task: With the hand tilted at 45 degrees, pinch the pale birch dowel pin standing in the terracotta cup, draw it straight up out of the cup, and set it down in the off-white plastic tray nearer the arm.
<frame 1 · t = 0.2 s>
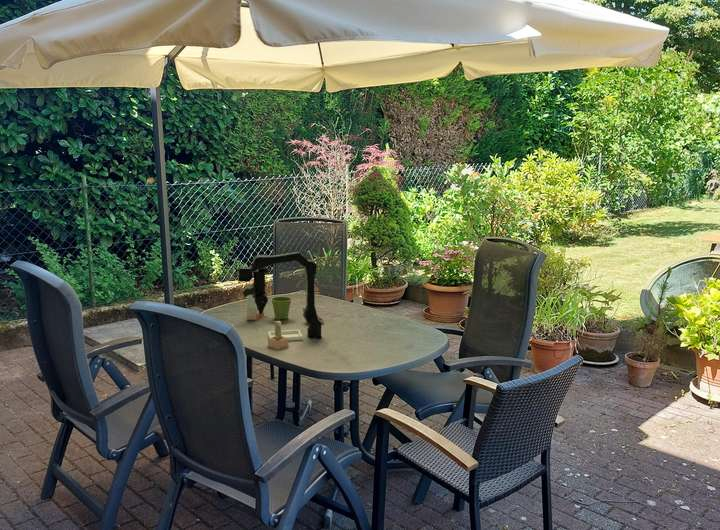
hand: (259, 312, 303), 15 cm above the table, tool pointing down, fingers open, 9 cm apart
plant pot: (281, 318, 349), on the table
dowel pin: (278, 334, 296), in the pin cup
tray: (285, 338, 311), on the table
ceramic mug: (314, 323, 339), on the table
cracker box: (256, 317, 350), on the table
pin cup: (278, 346, 297), on the table
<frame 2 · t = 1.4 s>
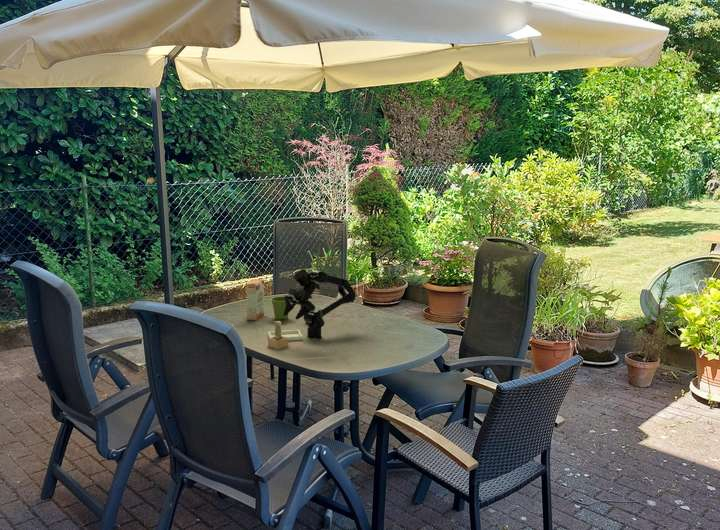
hand: (290, 317, 300), 13 cm above the table, tool tilted 45°, fingers open, 9 cm apart
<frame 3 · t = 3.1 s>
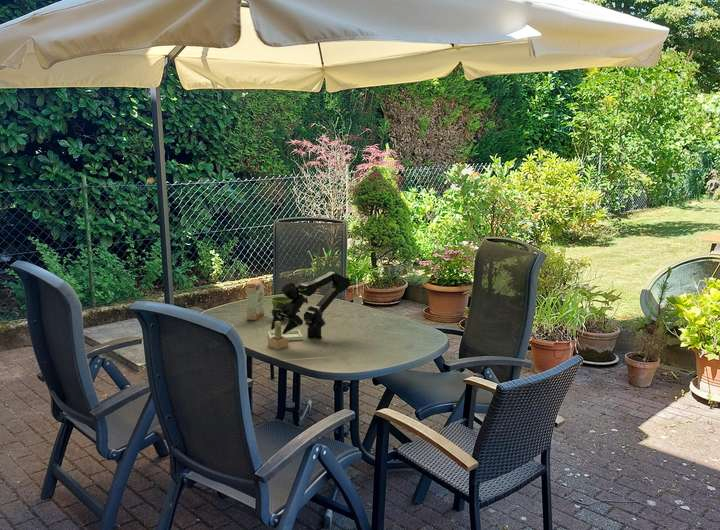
hand: (277, 331, 295), 8 cm above the table, tool tilted 45°, fingers open, 9 cm apart
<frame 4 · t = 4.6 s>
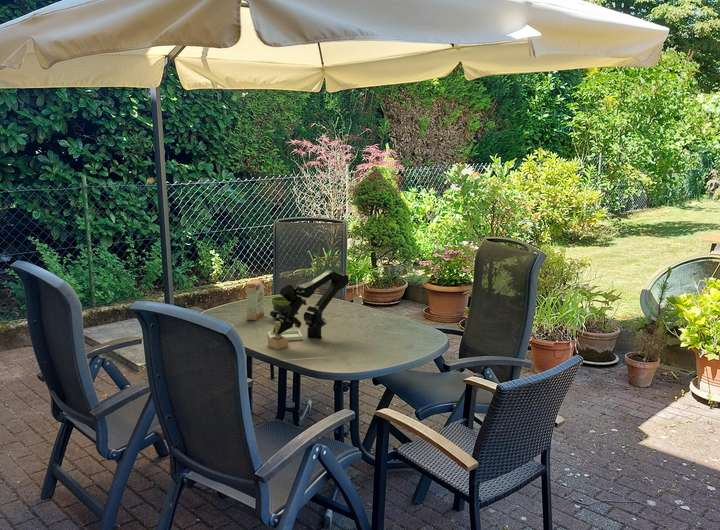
hand: (275, 333, 295), 7 cm above the table, tool tilted 45°, fingers closed on dowel pin, 3 cm apart
dowel pin: (278, 334, 296), in the pin cup, touching gripper
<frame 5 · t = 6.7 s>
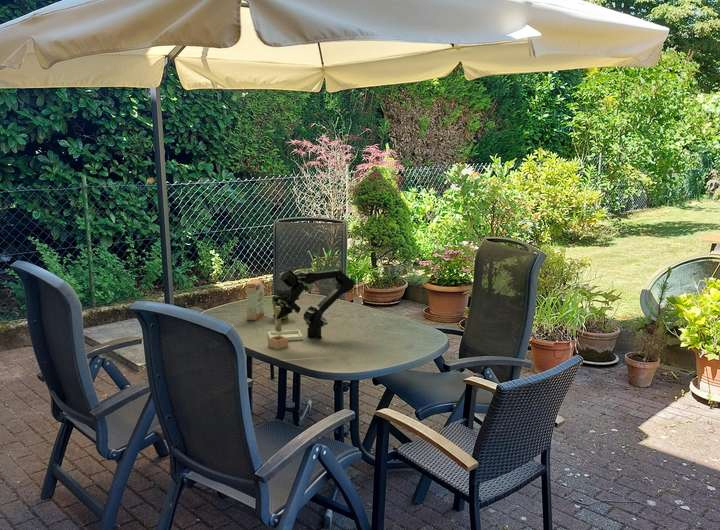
hand: (275, 318, 297), 14 cm above the table, tool tilted 45°, fingers closed on dowel pin, 3 cm apart
dowel pin: (278, 318, 298), point 13 cm above the table, touching gripper
when the fingers open (9 cm above the table, at t = 9.1 s): dowel pin drops 1 cm, resting on tray.
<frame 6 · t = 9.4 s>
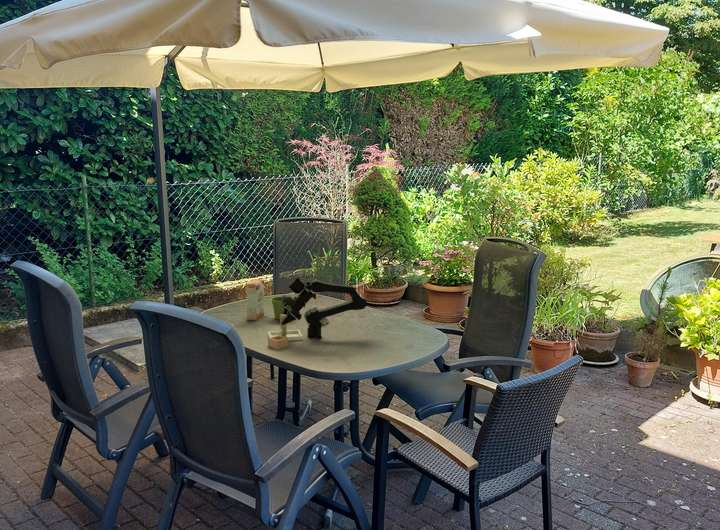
hand: (280, 322, 306), 9 cm above the table, tool tilted 45°, fingers open, 6 cm apart
dowel pin: (283, 326, 307), in the tray, point 7 cm above the table
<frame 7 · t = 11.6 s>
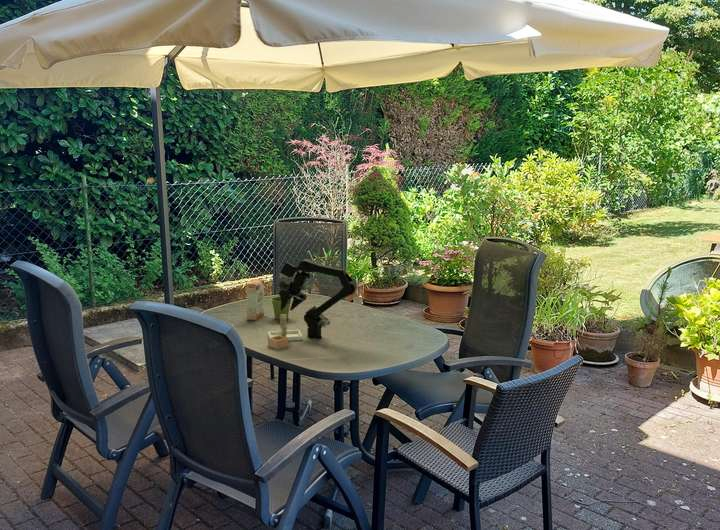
hand: (286, 310, 311), 14 cm above the table, tool tilted 25°, fingers open, 9 cm apart
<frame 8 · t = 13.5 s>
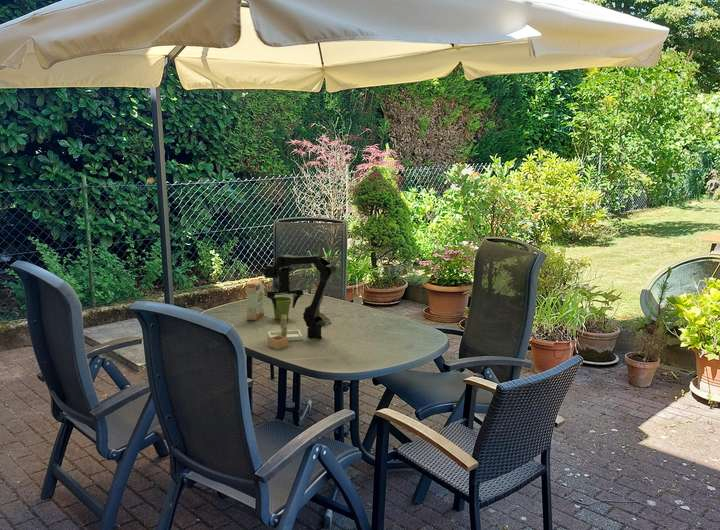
hand: (284, 309, 317), 13 cm above the table, tool pointing down, fingers open, 9 cm apart
at the end: dowel pin inside the target area on the tray (2.2 cm from its centre), point 6.8 cm above the tray's base; the gripper is holding nothing; dowel pin touching tray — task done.
